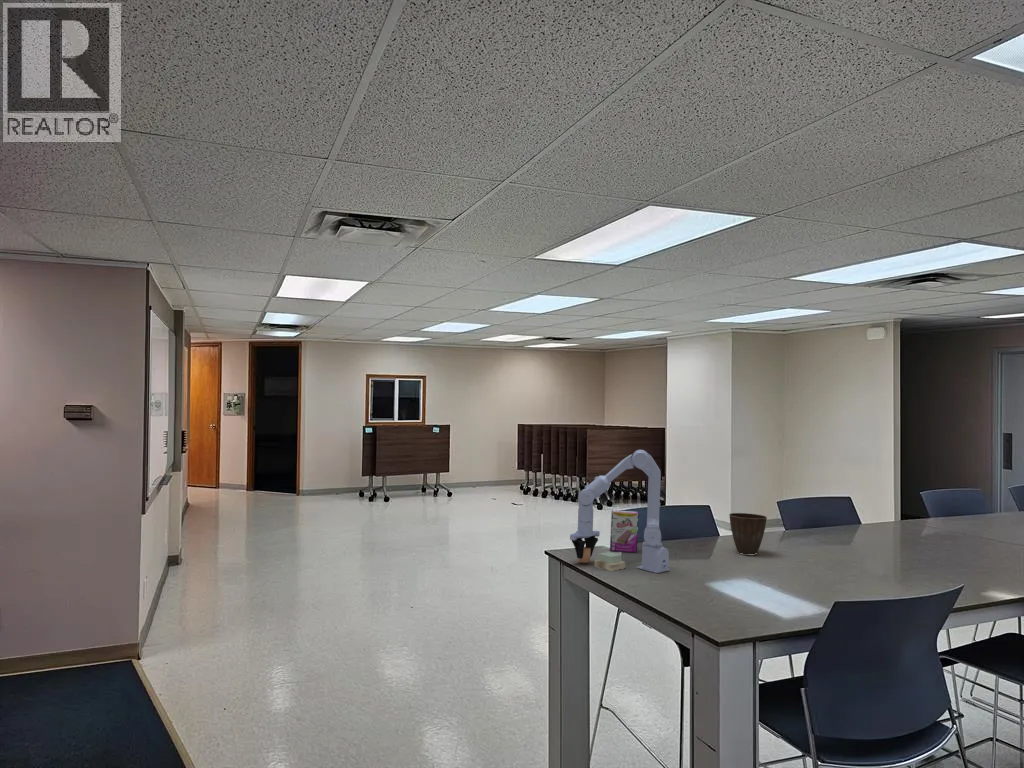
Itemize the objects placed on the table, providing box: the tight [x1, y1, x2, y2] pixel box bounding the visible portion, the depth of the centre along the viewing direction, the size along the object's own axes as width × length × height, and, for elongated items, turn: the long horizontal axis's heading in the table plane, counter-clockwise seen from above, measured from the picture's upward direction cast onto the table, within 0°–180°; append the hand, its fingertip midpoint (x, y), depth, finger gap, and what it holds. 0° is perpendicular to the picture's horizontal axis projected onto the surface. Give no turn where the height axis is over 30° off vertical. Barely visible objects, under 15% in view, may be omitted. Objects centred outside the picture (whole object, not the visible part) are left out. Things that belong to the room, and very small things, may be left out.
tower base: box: [594, 559, 626, 572], centre depth 251 cm, size 8×8×3 cm
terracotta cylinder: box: [577, 546, 591, 564], centre depth 256 cm, size 5×5×5 cm
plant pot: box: [729, 512, 768, 554], centre depth 286 cm, size 15×15×16 cm
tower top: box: [597, 551, 623, 564], centre depth 251 cm, size 6×6×2 cm
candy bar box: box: [609, 509, 640, 554], centre depth 281 cm, size 11×5×16 cm, turn 84°
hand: (584, 557), depth 256 cm, fingers closed on terracotta cylinder, 5 cm apart
